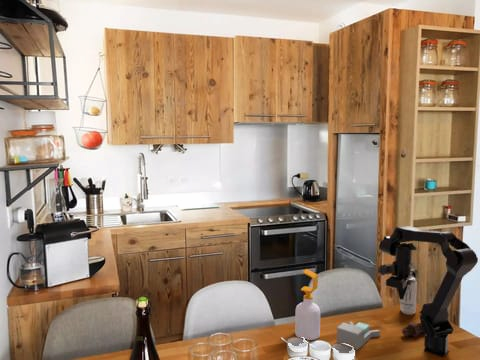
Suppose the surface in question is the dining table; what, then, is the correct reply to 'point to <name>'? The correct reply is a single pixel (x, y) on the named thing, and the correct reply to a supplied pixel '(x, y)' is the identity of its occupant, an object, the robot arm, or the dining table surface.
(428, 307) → the robot arm
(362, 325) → the mint green brick
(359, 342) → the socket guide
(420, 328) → the bolt
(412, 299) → the energy drink can
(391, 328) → the dining table surface
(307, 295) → the soap bottle
